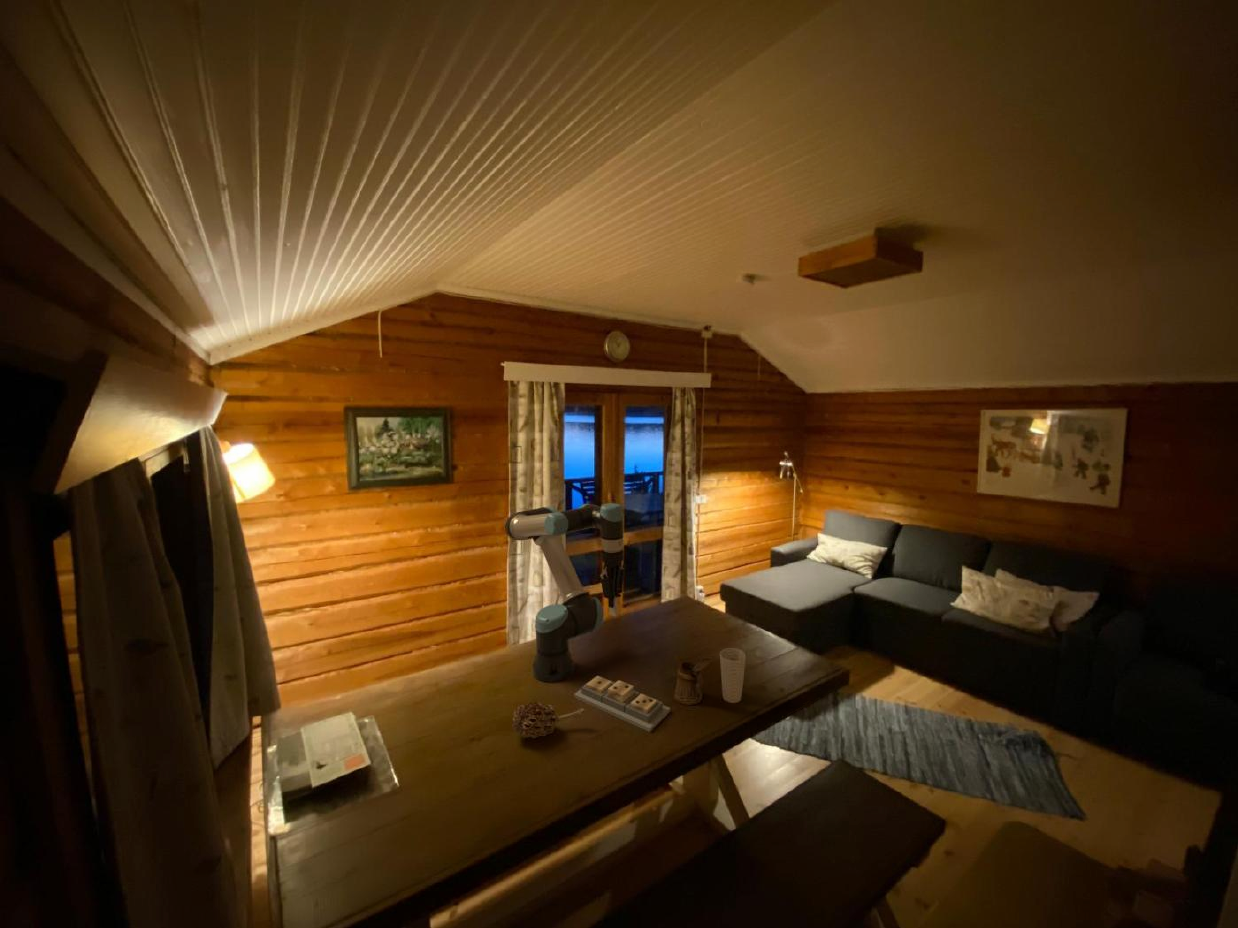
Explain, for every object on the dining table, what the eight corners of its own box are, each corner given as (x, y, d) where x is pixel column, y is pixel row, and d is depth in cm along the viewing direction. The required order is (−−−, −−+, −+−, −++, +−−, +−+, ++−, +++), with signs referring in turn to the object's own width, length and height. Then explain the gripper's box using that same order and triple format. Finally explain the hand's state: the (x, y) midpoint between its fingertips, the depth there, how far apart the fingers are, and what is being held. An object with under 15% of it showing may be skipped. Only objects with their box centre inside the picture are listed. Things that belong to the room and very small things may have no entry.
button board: (574, 697, 171) (573, 688, 170) (596, 680, 180) (596, 671, 180) (649, 732, 153) (649, 721, 152) (670, 711, 162) (670, 701, 162)
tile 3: (630, 711, 160) (630, 702, 160) (641, 702, 165) (641, 692, 165) (646, 718, 157) (646, 709, 156) (657, 708, 162) (657, 699, 161)
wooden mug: (694, 716, 160) (694, 663, 157) (668, 694, 171) (668, 644, 169) (716, 707, 164) (717, 655, 162) (690, 686, 176) (690, 637, 173)
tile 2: (608, 697, 165) (607, 688, 165) (618, 688, 170) (618, 679, 170) (623, 703, 162) (622, 694, 161) (633, 694, 167) (633, 685, 166)
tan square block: (586, 692, 171) (586, 683, 170) (597, 683, 176) (597, 675, 175) (600, 698, 167) (600, 689, 167) (611, 689, 172) (611, 680, 172)
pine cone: (515, 751, 146) (513, 719, 144) (510, 730, 155) (509, 700, 153) (589, 733, 153) (588, 702, 151) (581, 714, 162) (580, 685, 160)
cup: (713, 697, 169) (714, 654, 167) (728, 687, 175) (729, 644, 173) (735, 708, 163) (736, 663, 161) (750, 697, 169) (751, 653, 167)
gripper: (609, 556, 166) (610, 624, 169) (632, 546, 176) (633, 610, 180) (591, 552, 170) (593, 619, 174) (615, 542, 180) (616, 605, 184)
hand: (613, 614), depth 177 cm, fingers closed
